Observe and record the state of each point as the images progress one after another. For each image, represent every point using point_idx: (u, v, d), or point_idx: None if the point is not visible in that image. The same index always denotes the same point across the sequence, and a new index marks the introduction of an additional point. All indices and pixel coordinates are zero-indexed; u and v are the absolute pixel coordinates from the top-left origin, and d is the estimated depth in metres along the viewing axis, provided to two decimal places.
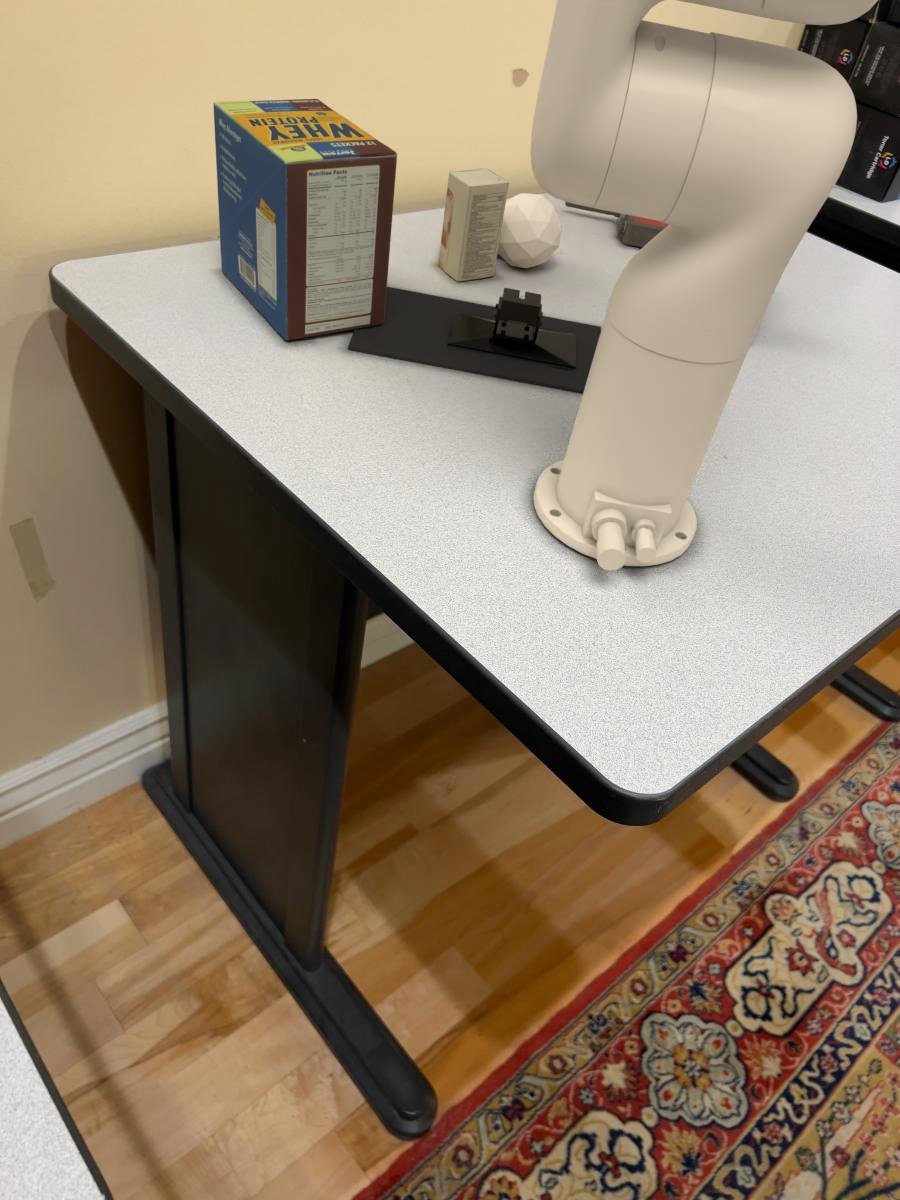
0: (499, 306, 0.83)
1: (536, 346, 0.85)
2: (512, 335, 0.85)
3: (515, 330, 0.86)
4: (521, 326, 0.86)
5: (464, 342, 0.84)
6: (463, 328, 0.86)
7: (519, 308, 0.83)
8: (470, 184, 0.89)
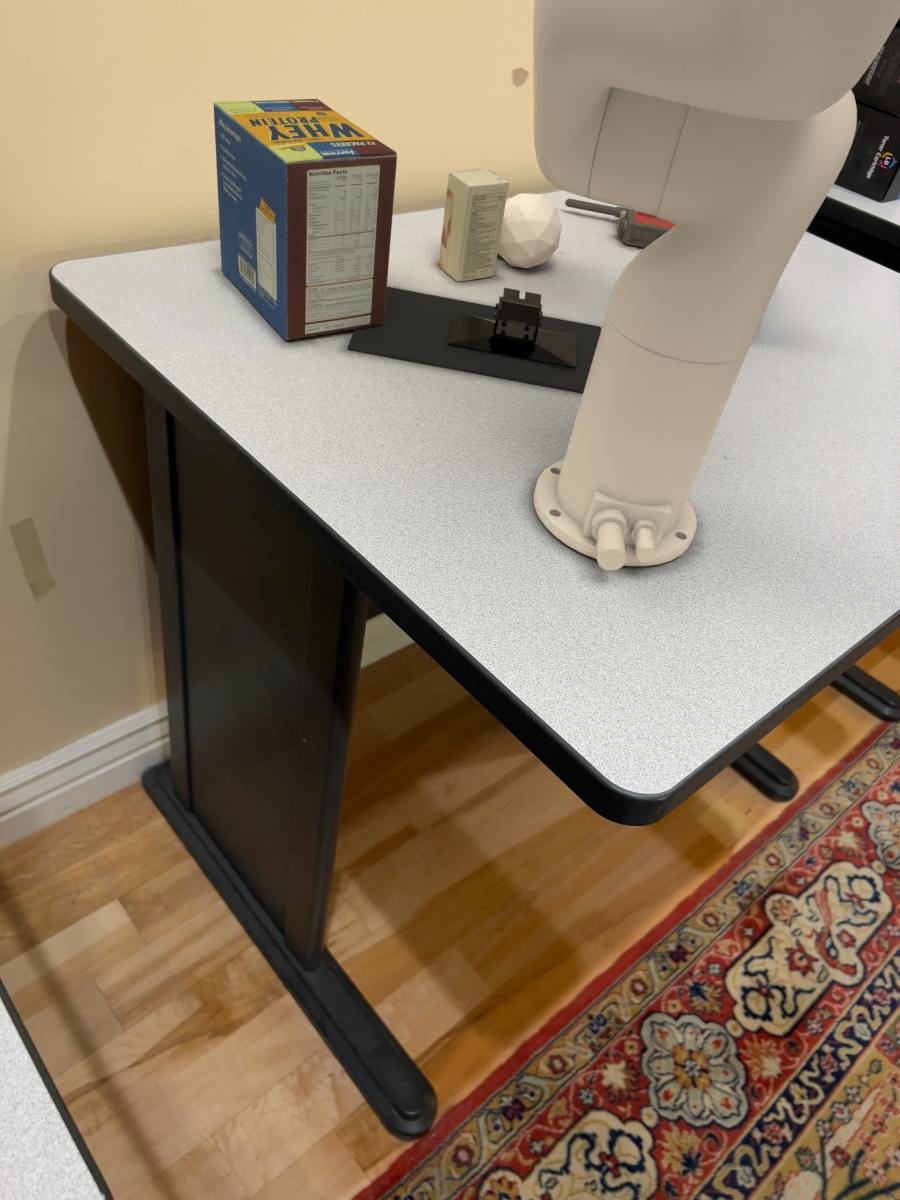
0: (499, 306, 0.83)
1: (536, 346, 0.85)
2: (512, 335, 0.85)
3: (515, 330, 0.86)
4: (521, 326, 0.86)
5: (464, 342, 0.84)
6: (463, 328, 0.86)
7: (519, 308, 0.83)
8: (470, 185, 0.89)
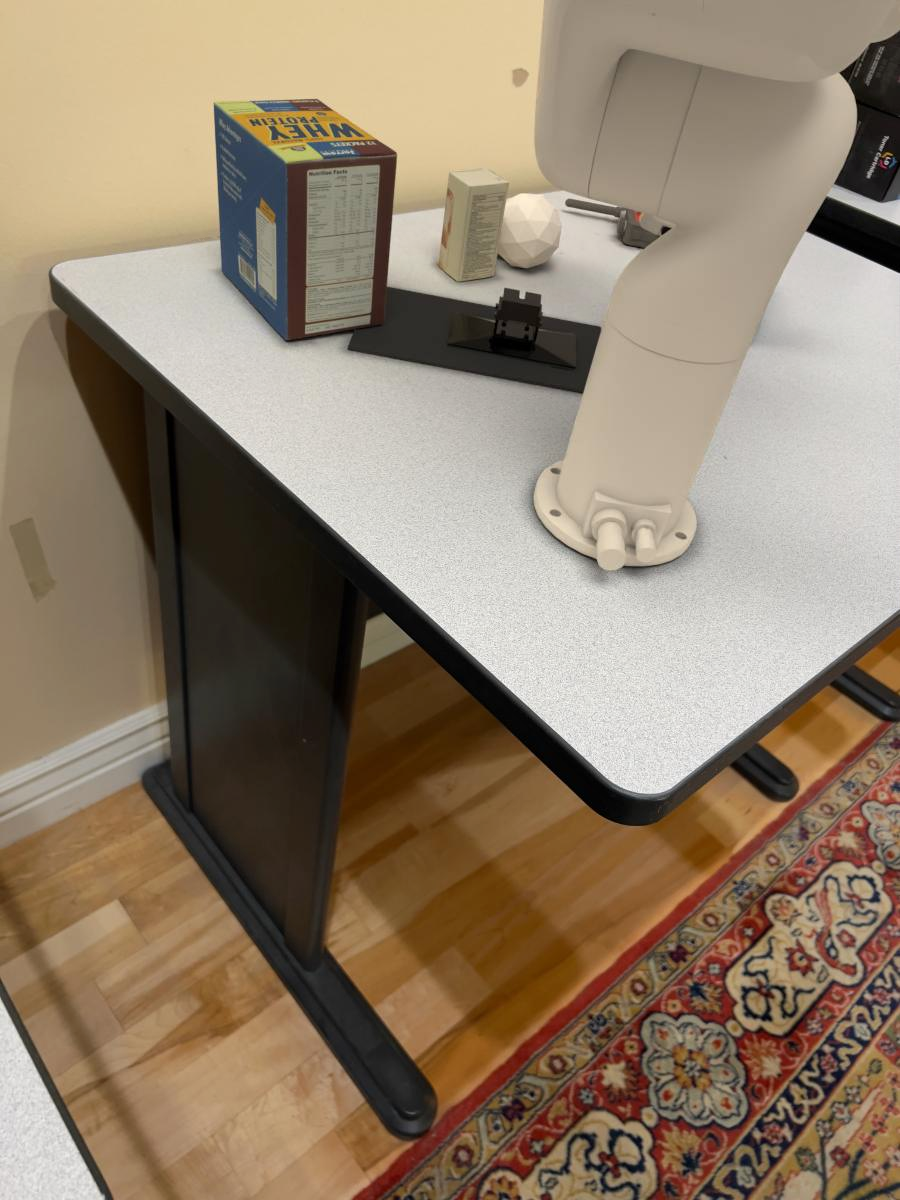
0: (499, 306, 0.83)
1: (536, 346, 0.85)
2: (512, 335, 0.85)
3: (515, 330, 0.86)
4: (521, 326, 0.86)
5: (464, 342, 0.84)
6: (463, 328, 0.86)
7: (519, 308, 0.83)
8: (470, 185, 0.89)
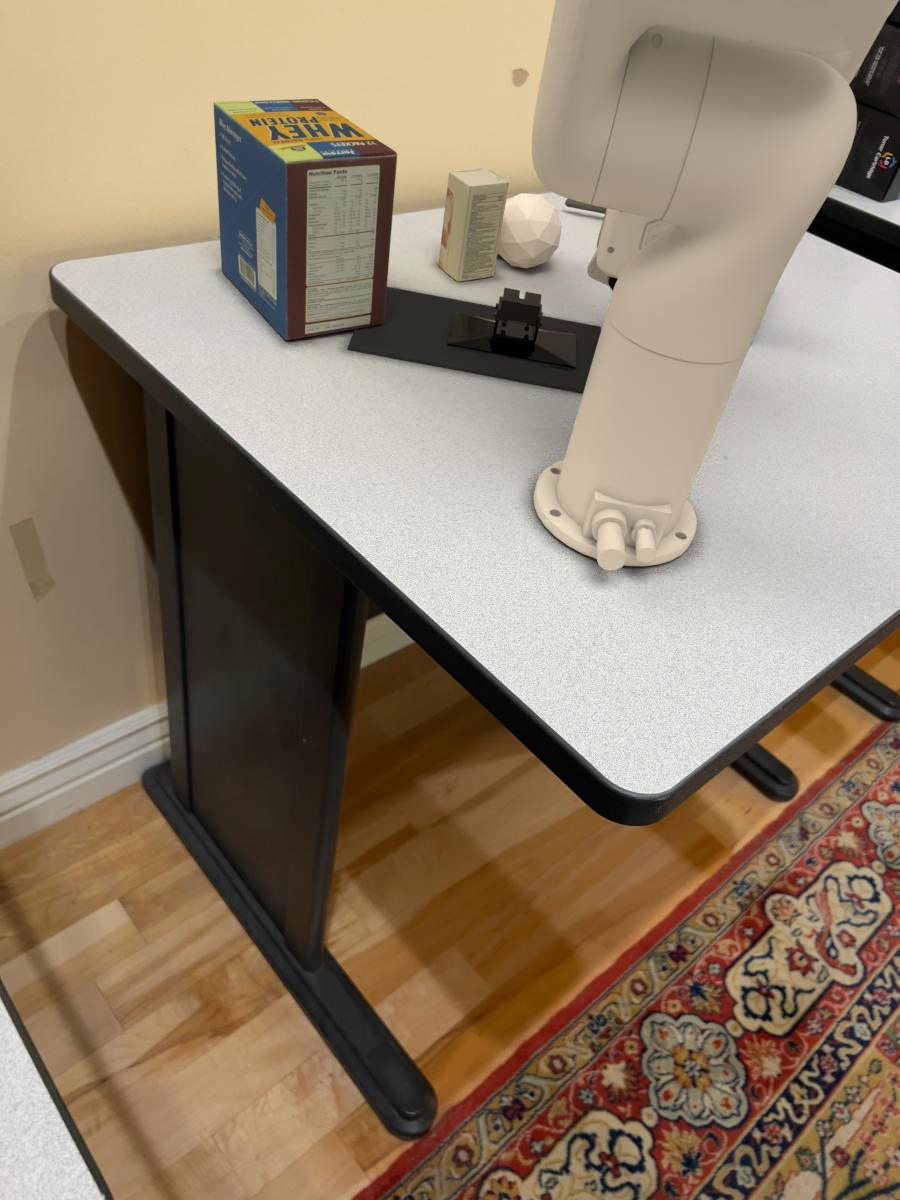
0: (499, 306, 0.83)
1: (536, 346, 0.85)
2: (512, 335, 0.85)
3: (515, 330, 0.86)
4: (521, 326, 0.86)
5: (464, 342, 0.84)
6: (463, 328, 0.86)
7: (519, 308, 0.83)
8: (470, 185, 0.89)
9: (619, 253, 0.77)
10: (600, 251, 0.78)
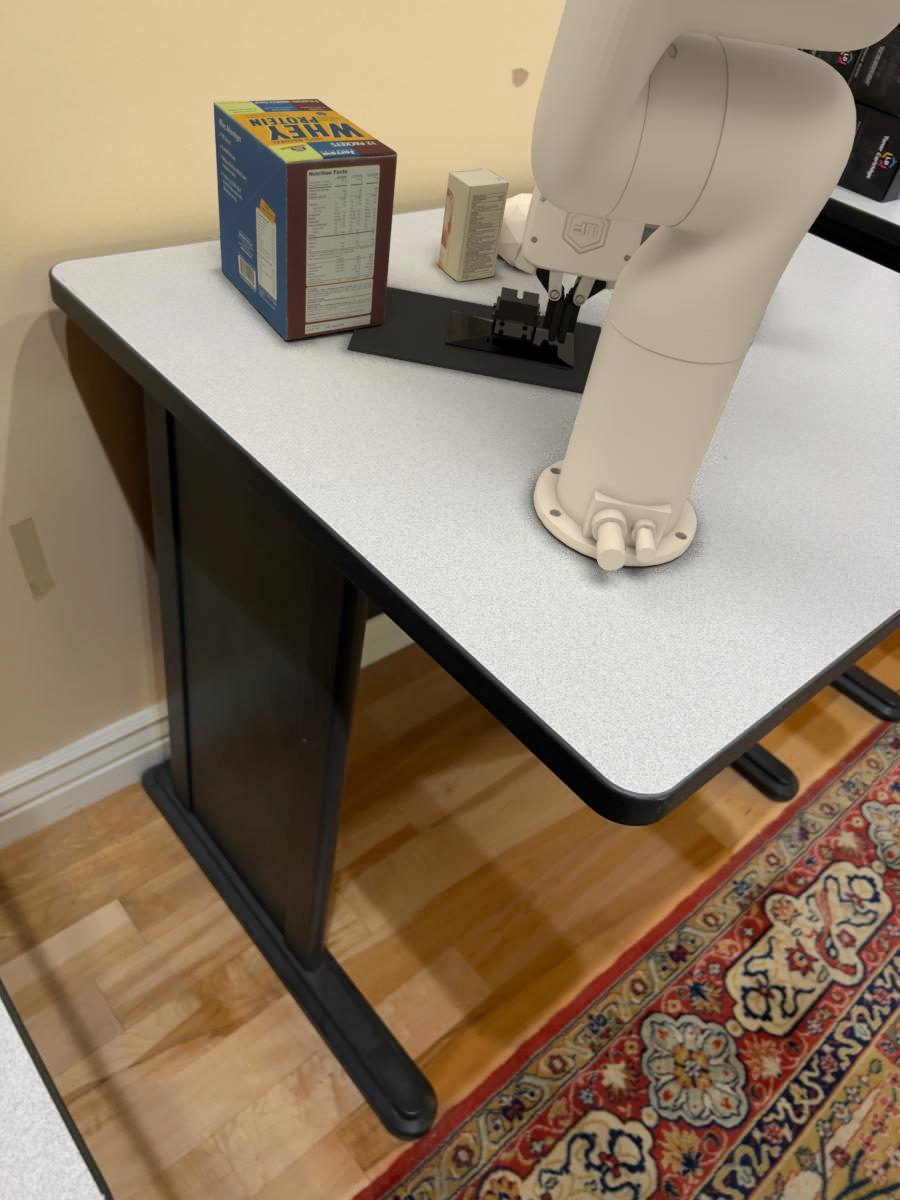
0: (497, 305, 0.83)
1: (534, 345, 0.85)
2: (510, 334, 0.85)
3: (513, 329, 0.86)
4: (519, 325, 0.86)
5: (462, 341, 0.84)
6: (461, 327, 0.86)
7: (517, 307, 0.83)
8: (470, 185, 0.89)
9: (543, 243, 0.77)
10: (524, 241, 0.78)
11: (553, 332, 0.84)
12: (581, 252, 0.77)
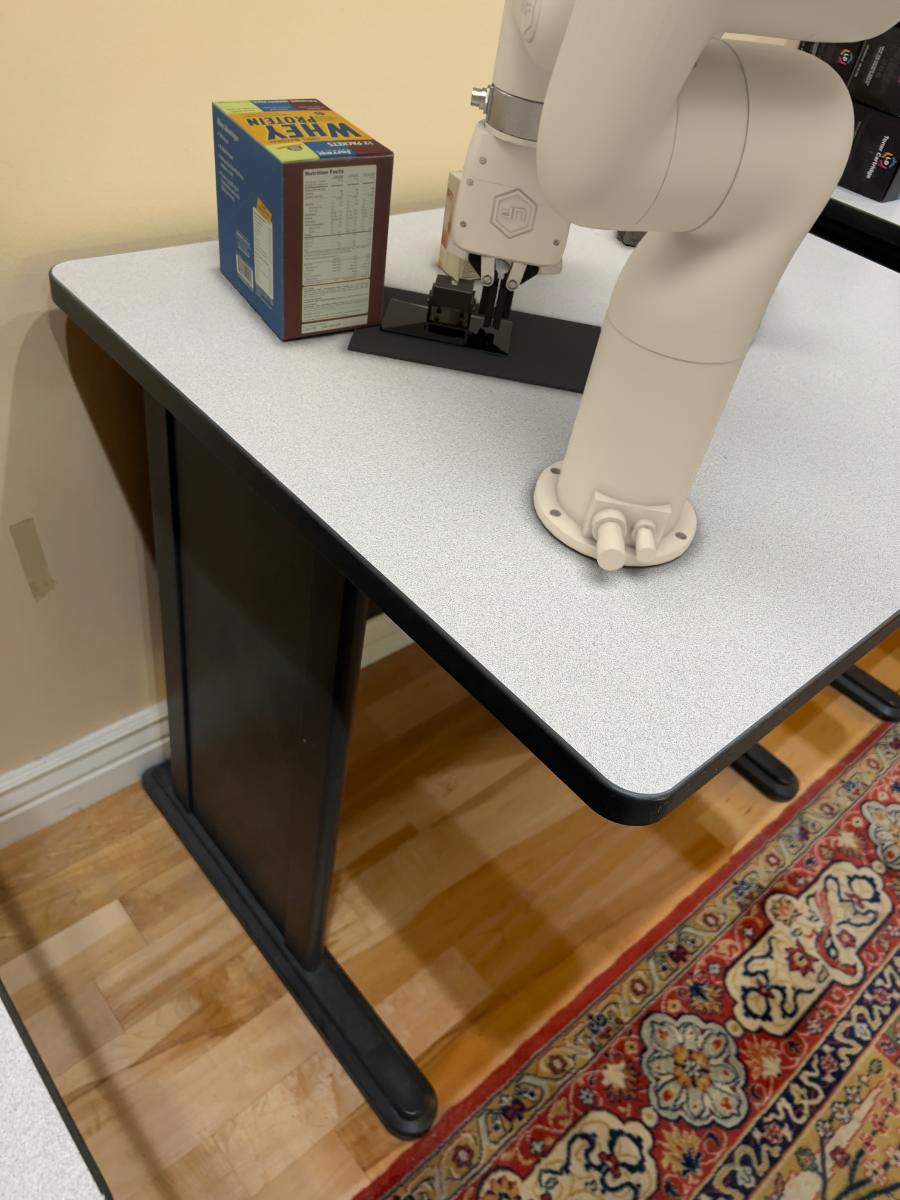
0: (431, 292, 0.83)
1: (469, 332, 0.85)
2: (445, 321, 0.85)
3: (449, 317, 0.86)
4: (456, 313, 0.86)
5: (397, 328, 0.84)
6: (397, 314, 0.86)
7: (451, 294, 0.83)
8: None
9: (472, 228, 0.77)
10: (453, 226, 0.77)
11: (488, 318, 0.84)
12: (510, 237, 0.77)
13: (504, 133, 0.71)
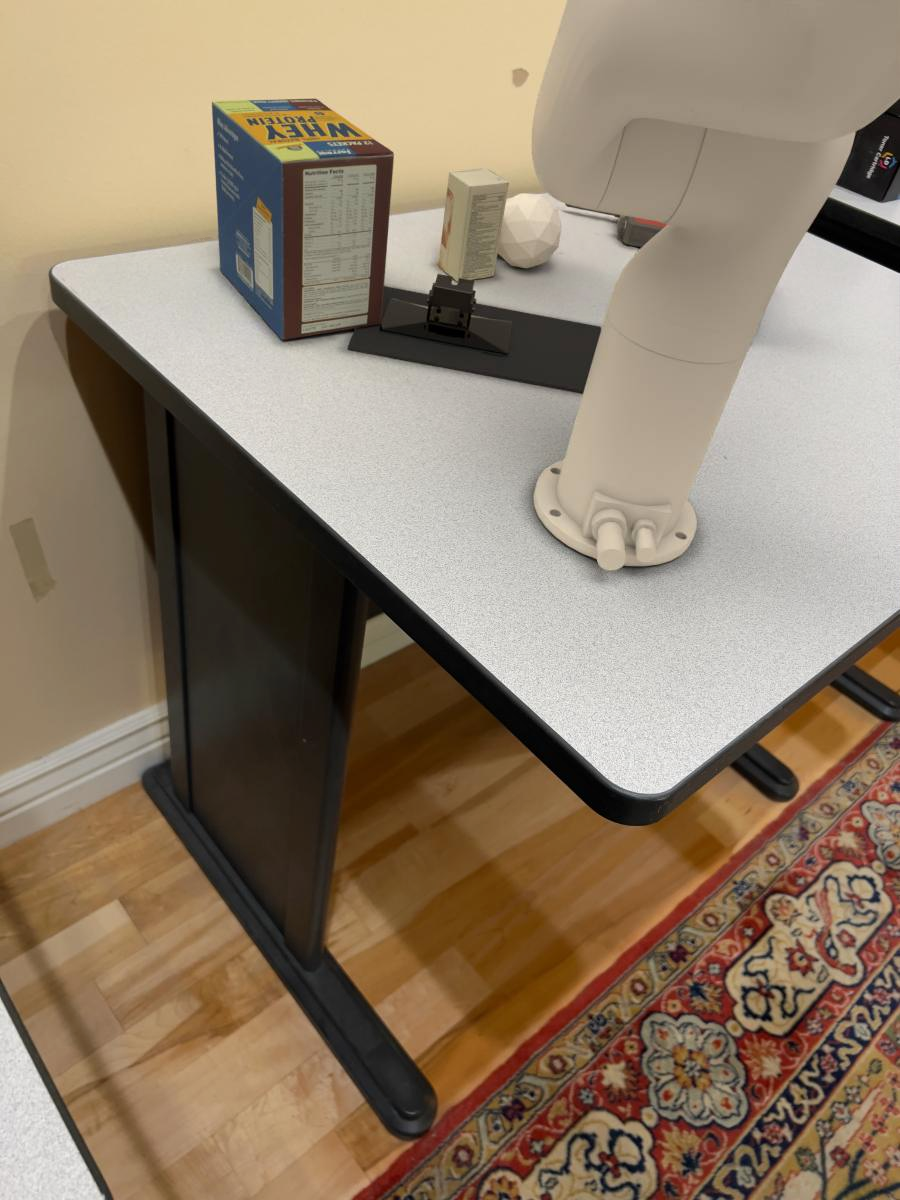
0: (431, 292, 0.83)
1: (469, 332, 0.85)
2: (445, 321, 0.85)
3: (449, 316, 0.86)
4: (456, 313, 0.86)
5: (397, 328, 0.84)
6: (397, 314, 0.86)
7: (451, 294, 0.83)
8: (470, 185, 0.89)
9: None
10: None
11: None
12: None
13: None
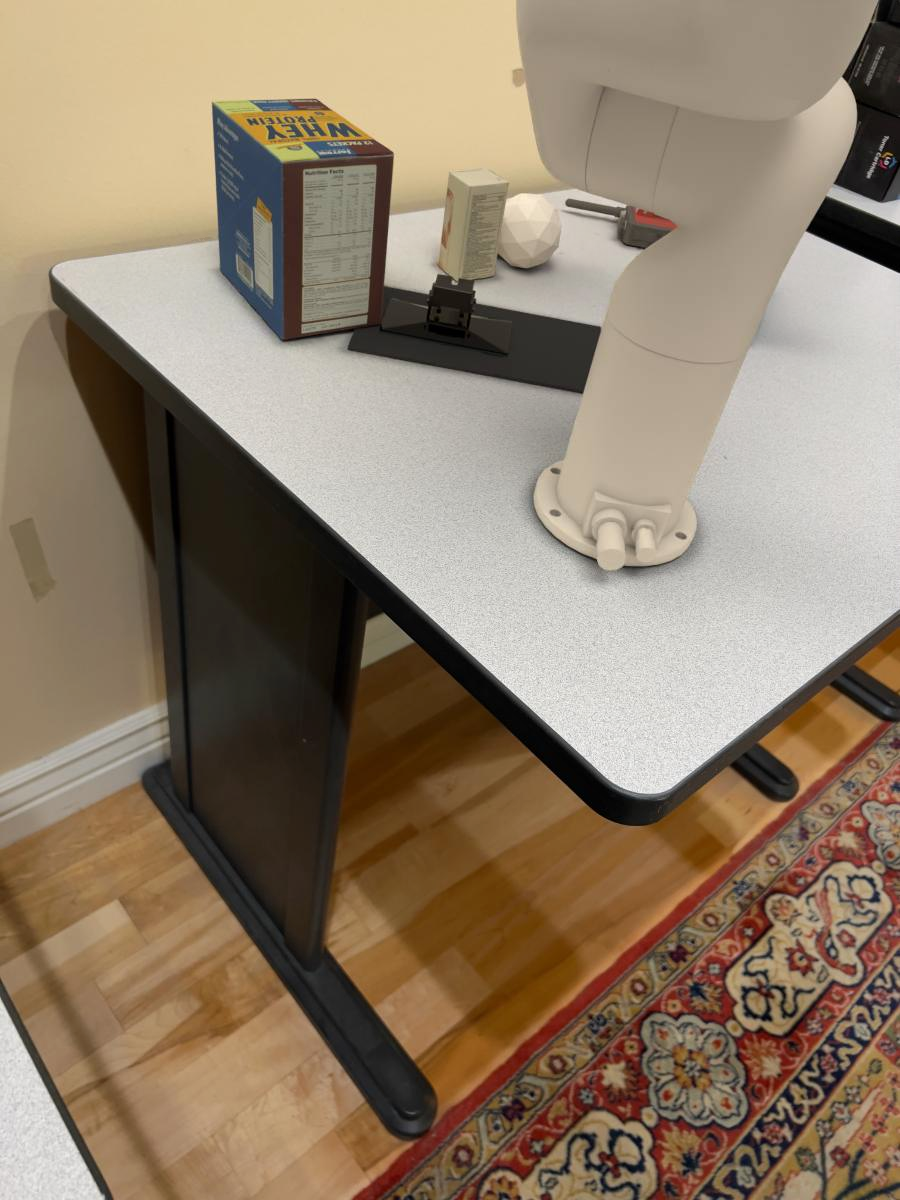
0: (431, 292, 0.83)
1: (469, 332, 0.85)
2: (445, 321, 0.85)
3: (449, 316, 0.86)
4: (456, 313, 0.86)
5: (397, 328, 0.84)
6: (397, 314, 0.86)
7: (451, 294, 0.83)
8: (470, 185, 0.89)
9: None
10: None
11: None
12: None
13: None
